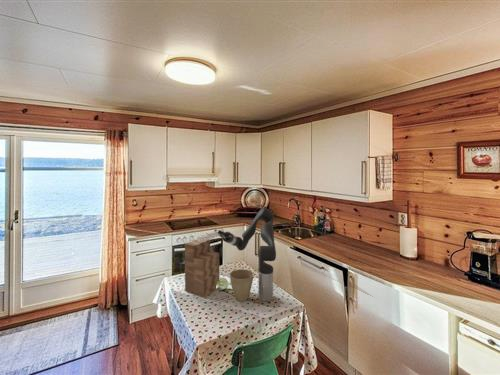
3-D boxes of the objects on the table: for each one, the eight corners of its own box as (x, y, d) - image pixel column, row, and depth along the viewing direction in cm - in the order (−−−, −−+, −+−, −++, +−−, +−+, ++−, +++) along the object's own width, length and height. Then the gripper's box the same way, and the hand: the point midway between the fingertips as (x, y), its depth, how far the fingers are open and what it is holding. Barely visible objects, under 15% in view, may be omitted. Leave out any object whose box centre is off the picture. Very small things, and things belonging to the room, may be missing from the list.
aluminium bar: (220, 233, 177) (220, 228, 176) (224, 233, 175) (224, 229, 175) (197, 241, 156) (197, 237, 156) (201, 242, 154) (201, 237, 154)
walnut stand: (201, 281, 177) (201, 237, 174) (219, 287, 169) (219, 241, 166) (185, 291, 163) (184, 243, 161) (203, 297, 155) (203, 248, 153)
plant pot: (255, 294, 160) (256, 270, 159) (249, 306, 146) (249, 280, 144) (234, 291, 164) (234, 267, 163) (226, 302, 150) (226, 277, 148)
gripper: (223, 231, 188) (210, 224, 175) (238, 234, 181) (226, 227, 168) (220, 241, 186) (207, 234, 172) (235, 244, 179) (223, 238, 165)
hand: (216, 231), depth 170 cm, fingers closed on aluminium bar, 3 cm apart
